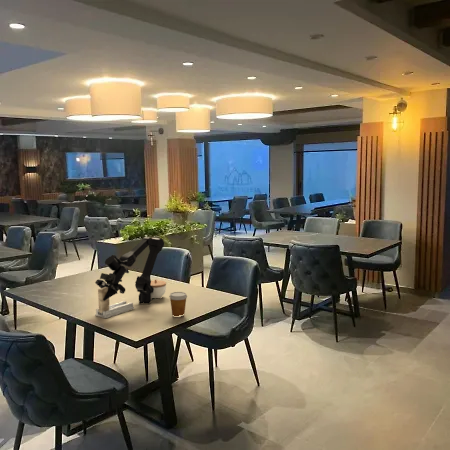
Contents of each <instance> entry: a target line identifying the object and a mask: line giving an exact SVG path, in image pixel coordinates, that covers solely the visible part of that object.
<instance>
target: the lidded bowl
mask: <svg viewBox="0 0 450 450" xmlns="http://www.w3.org/2000/svg"><path fill="white" fill-rule="evenodd" d="M151 286H152V287H153V288H154V291H153V293H151V298H160V299H162V298H161V297H164V295H165V294H166V290H167V282H166V281H164V280H159V279H158V280H157V279H154V280H151Z"/></svg>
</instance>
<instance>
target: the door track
mask: <svg viewBox="0 0 450 450" xmlns="http://www.w3.org/2000/svg"><path fill="white" fill-rule="evenodd" d="M109 308H110V309H108V310H105V311H103V313H101V312H99V308H97V309H95V316H97V317H100V318H102V319H108V318H111V317H114V316H117V315H120V314H123V313H126V312H129V311H128V310H130V311H132V310H131V309H133V310H134V309H135V308H134V302H131V301H130V302H127V300H122V301H120V302H117V303H113V304H109Z"/></svg>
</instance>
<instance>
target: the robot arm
mask: <svg viewBox="0 0 450 450" xmlns="http://www.w3.org/2000/svg"><path fill="white" fill-rule="evenodd" d="M164 246H165V241H164V239H163V238H158V237H152V238H151V237H146V236H144V237H143V238H142V239H141V240H140V241H139V242H138V243H137V244H136V245H135V246H134V247H133V248H132V249H131V250H130V251H128V252H126V253H124V254H123V255H121V256H120V257H117V255H115V254H111V256H108V257H107V258H106V259H105V261H104V264H105V266H106V267H108V268H109V270H111V271H113V272H112V273H111V272H110V273H109V274H107V273H103V272H100V273H101V274H100V277H99V279H97V280H95V282H94V283H95V284H96V286H97V287H99V289H100V288H104V287H108V291H107V293H106V295H105V296H104V298H103V300H104V301H105V300H107V299H108V298H109V299H110V298H111V297H112V296H115V295H117V294H118V292H119V293H120V294H123V295H124V294H125V293H126V288H125V287H124V286H123V285H122V284H121V283H122V282H123V280H122V278H124V275H125V274H129V273H130V271H129V268H131V267H132V266H134V265H135V264H134V263H136V261H137V258H138V256H139V255H141V253H142V252H143V251H144V250H146V248H148V250H149V253H148V255H147V259H146V261H145V265H144V268H143V270H142V273H141V275H137V276H136V280H135V282H134V284H135V285H134V286H135V289H136V292H137V293H139V294H138V303H150V304H152V302H153V301H152V300H153V299H151V293H153V291H154V288H153V287H152V286H151V281H152V280H151V276H152V275H151V274H152V273H153V268H154V267H155V263H156V260H157V258H158V254H159V253H160V252H161V251H162V250H163V248H164ZM128 267H129V268H128ZM120 282H121V283H120Z"/></svg>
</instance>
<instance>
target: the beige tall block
mask: <svg viewBox="0 0 450 450" xmlns="http://www.w3.org/2000/svg"><path fill="white" fill-rule="evenodd" d="M107 291H108V287H104V288H100V287H99V288H98V289H97V295H98V309H99V312H101V313H103V311H105V310H108V309H110V308H109V305H110V298H108V299H107V300H105V301H104V300H103V298H104V296H105V295H106V293H107Z"/></svg>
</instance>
